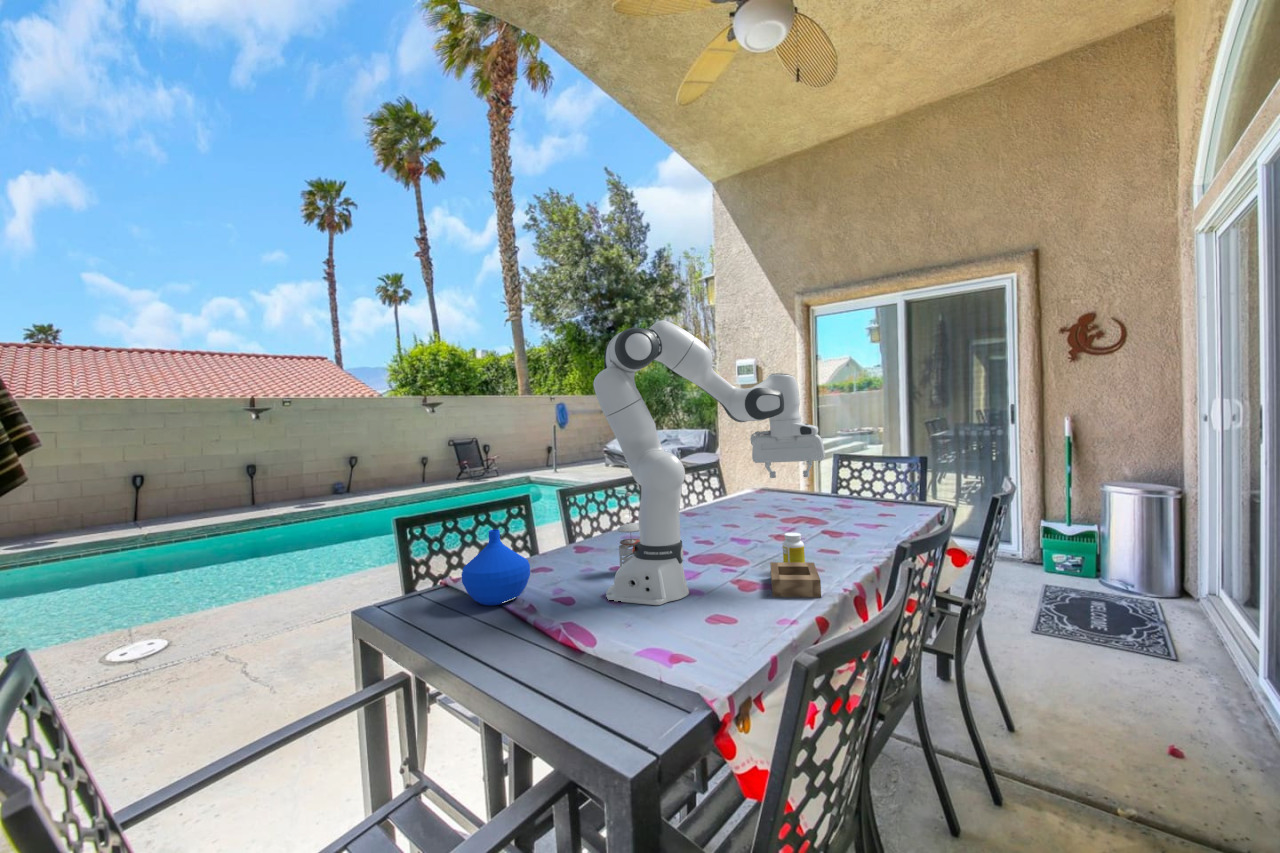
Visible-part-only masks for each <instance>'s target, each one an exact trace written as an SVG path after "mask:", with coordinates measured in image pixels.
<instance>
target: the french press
mask: <svg viewBox="0 0 1280 853" xmlns="http://www.w3.org/2000/svg"><path fill="white" fill-rule="evenodd" d="M625 497H628V498H630V497H632V493H631V492H629V491H628V492H626V493H625ZM630 506H631V505H630V503H628V514H629V515H628V516H629V517H631V507H630ZM616 530H617V531H618V532H620V533H629V534H630V536H632V533H638V532H639V523H635V522H629V523H624V524H622V525H620V526H619V527H617V529H616ZM636 540H640V538H637V537H636V538H624V539H621V540H620V541H619V544H620V545H619V546H618V553H619V554H618V555H619V568H620V567H621V566H623V565H624V564H625V563H626V562H627V561H628V560H630V559H631V558H632V557H633V556H634V555H633V551H632V550H633V549H632V548H633V545H634V543H635V542H636Z"/></svg>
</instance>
